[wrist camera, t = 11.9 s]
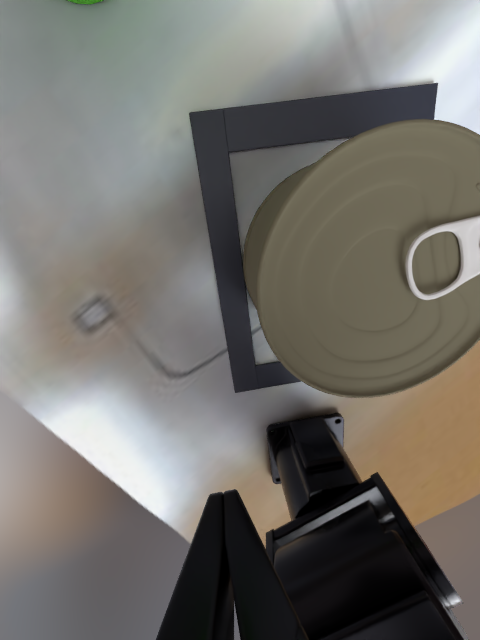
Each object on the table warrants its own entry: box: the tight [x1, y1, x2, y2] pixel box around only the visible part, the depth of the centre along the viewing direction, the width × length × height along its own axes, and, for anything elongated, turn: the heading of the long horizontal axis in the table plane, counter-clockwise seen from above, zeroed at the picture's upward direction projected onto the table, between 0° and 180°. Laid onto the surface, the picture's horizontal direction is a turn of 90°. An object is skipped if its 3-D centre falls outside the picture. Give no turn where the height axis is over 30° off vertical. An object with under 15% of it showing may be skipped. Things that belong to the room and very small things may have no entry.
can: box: [243, 119, 480, 398], centre depth 15 cm, size 12×12×7 cm
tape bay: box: [189, 83, 438, 393], centre depth 18 cm, size 18×14×1 cm
